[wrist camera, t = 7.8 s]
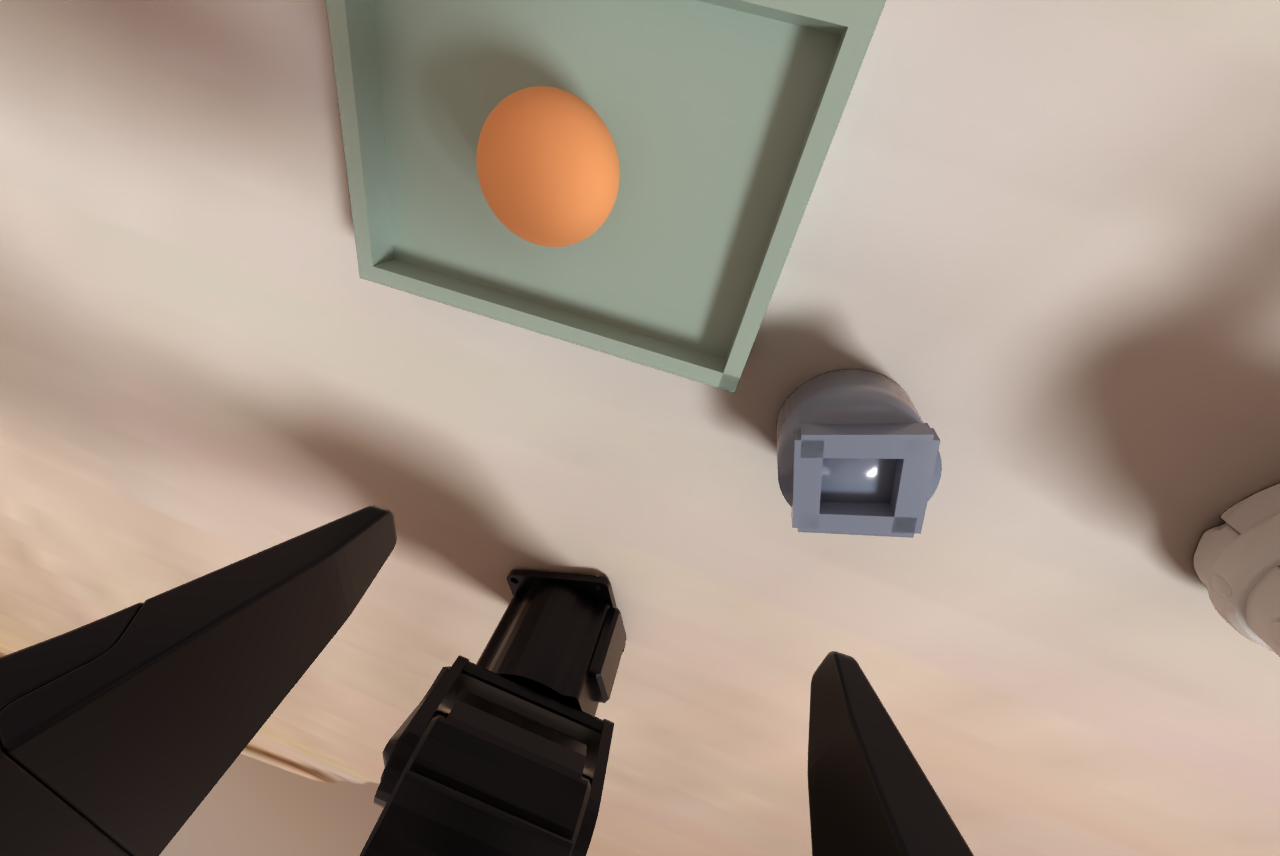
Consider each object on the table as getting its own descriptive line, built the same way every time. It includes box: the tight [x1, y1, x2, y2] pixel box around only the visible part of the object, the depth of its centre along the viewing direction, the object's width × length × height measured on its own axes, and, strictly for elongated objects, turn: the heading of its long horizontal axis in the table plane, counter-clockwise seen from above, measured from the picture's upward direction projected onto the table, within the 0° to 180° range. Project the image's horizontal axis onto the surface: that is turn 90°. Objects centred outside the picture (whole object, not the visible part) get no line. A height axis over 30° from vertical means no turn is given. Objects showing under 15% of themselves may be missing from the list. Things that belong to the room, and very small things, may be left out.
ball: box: [476, 86, 620, 247], centre depth 13 cm, size 4×4×4 cm
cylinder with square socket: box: [776, 369, 942, 538], centre depth 17 cm, size 5×5×4 cm
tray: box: [326, 0, 886, 393], centre depth 15 cm, size 15×11×2 cm
